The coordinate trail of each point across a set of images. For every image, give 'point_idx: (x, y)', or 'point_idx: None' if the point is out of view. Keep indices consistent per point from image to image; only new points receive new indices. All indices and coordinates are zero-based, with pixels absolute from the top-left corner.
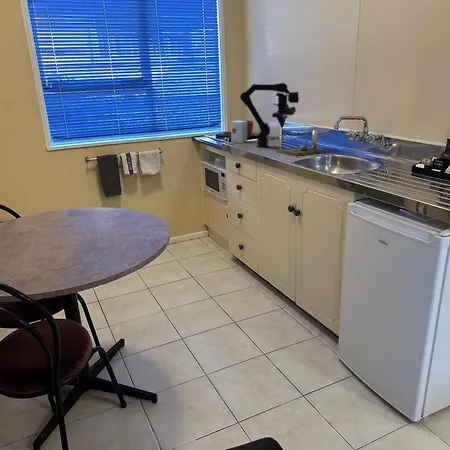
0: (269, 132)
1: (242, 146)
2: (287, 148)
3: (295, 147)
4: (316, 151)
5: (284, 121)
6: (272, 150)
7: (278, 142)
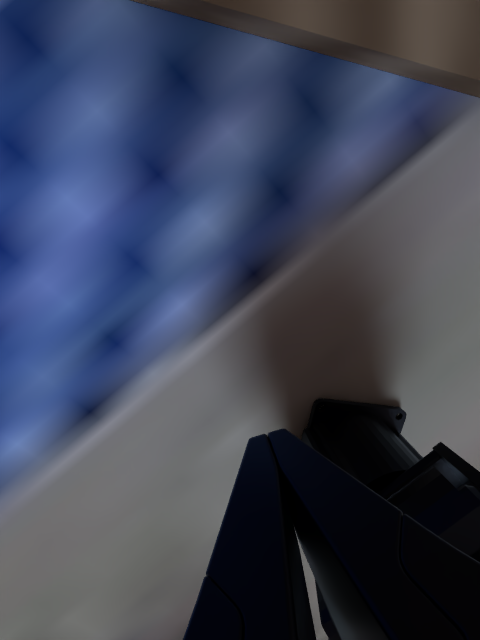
0: (450, 485)
1: None
2: (421, 54)
3: (285, 15)
4: None
5: (250, 599)
6: (472, 224)
7: (11, 531)
